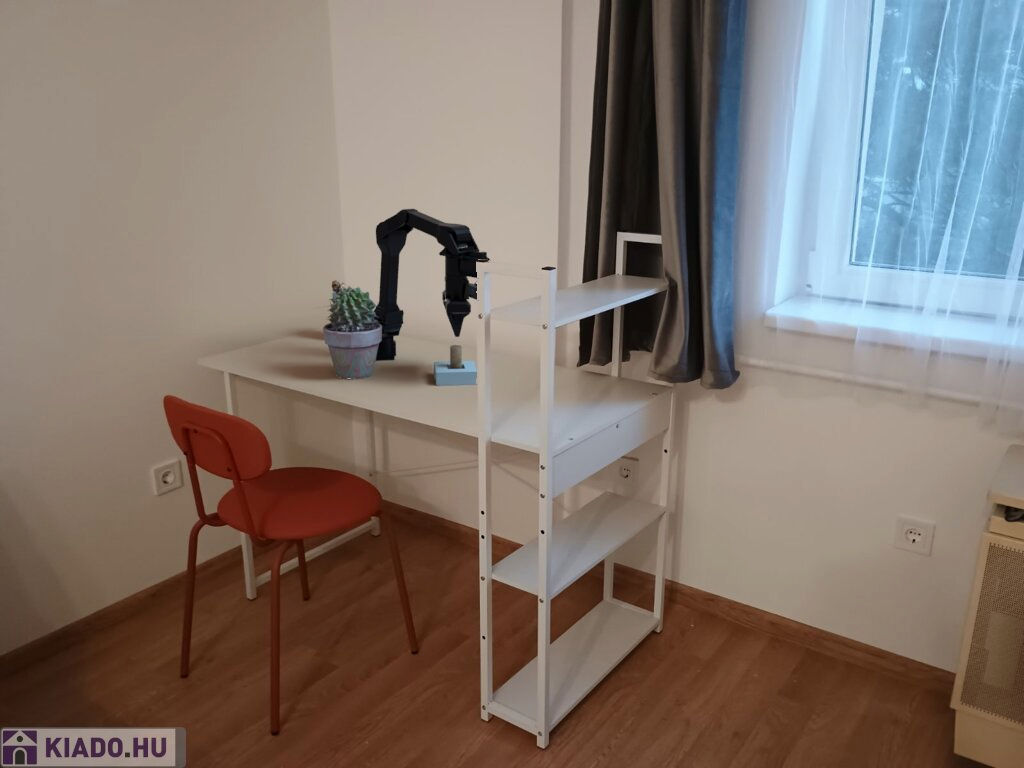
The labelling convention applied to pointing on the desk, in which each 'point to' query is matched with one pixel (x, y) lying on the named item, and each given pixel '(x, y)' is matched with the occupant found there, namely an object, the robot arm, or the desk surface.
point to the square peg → (455, 357)
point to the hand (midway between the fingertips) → (455, 332)
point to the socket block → (455, 374)
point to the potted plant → (352, 332)
